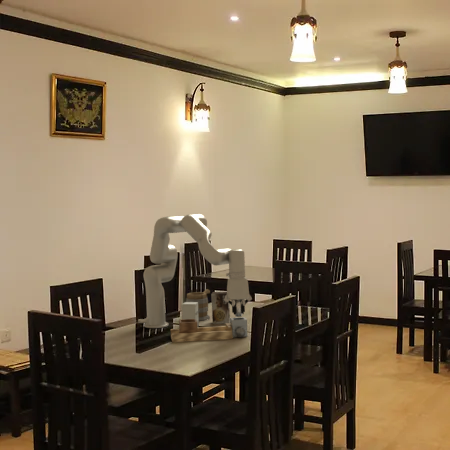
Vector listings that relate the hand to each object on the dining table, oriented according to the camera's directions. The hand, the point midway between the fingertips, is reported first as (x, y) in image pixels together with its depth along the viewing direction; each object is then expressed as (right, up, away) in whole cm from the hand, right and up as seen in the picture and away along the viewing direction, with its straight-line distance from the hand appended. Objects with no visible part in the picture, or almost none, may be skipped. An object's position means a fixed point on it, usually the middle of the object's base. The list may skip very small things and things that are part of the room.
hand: (238, 313), depth 330 cm
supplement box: (-24, -11, +25) cm, 36 cm away
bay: (-18, -11, -2) cm, 21 cm away
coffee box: (-8, -10, +36) cm, 38 cm away
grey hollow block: (0, -10, -1) cm, 11 cm away
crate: (-24, -10, -3) cm, 26 cm away
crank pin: (0, -1, 0) cm, 1 cm away
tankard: (-20, -9, +52) cm, 57 cm away
